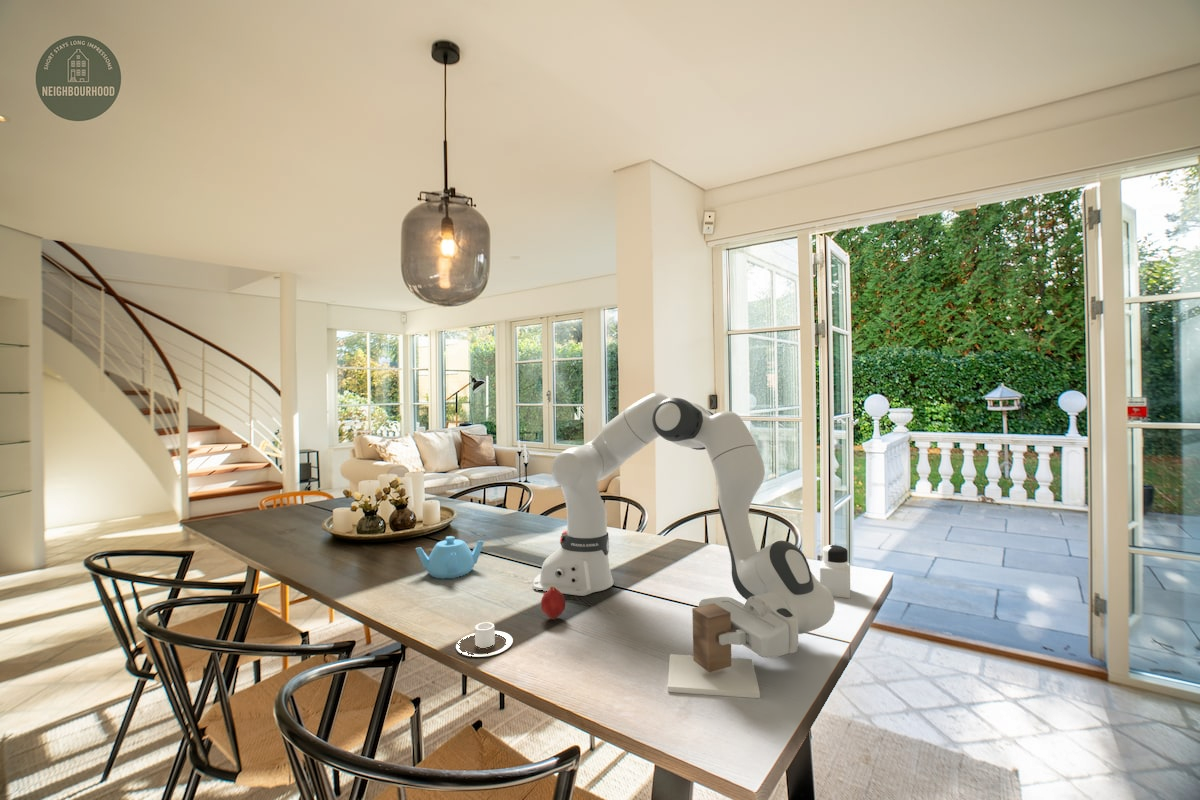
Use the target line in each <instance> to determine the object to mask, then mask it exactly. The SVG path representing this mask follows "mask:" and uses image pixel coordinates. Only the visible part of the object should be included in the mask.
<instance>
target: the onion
mask: <svg viewBox="0 0 1200 800" xmlns="http://www.w3.org/2000/svg"><path fill="white" fill-rule="evenodd" d="M540 607H541V610H542V612H543V614H545V615H546V616H548V617H549V618H550V619H551V620H556V619H557V618H559V616H561V615H562V614H563V612H564V611H565V609H566V598H565V595H564V594H563V593H561V592H560V591H559V590H557V589H556V588H555V586H551V588H550V590H548V591H547V592H546V591H545V592H544V594H543V596H542V597H541V601H540Z"/></svg>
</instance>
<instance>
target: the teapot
mask: <svg viewBox="0 0 1200 800" xmlns="http://www.w3.org/2000/svg"><path fill="white" fill-rule="evenodd" d="M455 538H456V537H455V536H453V535H449V536H448V535H447V536H445V539H444V540H441V541H438V542H437V543H436V544H435V545H434V546H433V549H432V550H431V552H430V553H429V555H428V554H427V553H426V552H425V551H424V549H423V548H422V547H421V546H419V547H416V548H415V551H416V554H417V555H418V557H419V559H420V561H421V564H422V565H423V568H424V570H426V571H427V573H428V574H430V575H429V576H431V577H433V578H434V577H436V578H435V579H439V578H451V579H455V578H454V577H458V578H460V577H459V576H461V577H464V576H466V575H465V574H467V575H468V574H470V572H471V571H472V570H473V569H474V567H475V564H477V563H478V560H479V558H480V554H481V551H482V548H483V545H484V543H485V541H484V540H477V543H476V545H475V546H474V548H473V550H472V551H471V549H470V547H469V546H468V544H467V543H466V542H465V541H464V540H462V539H455ZM463 575H464V576H463Z"/></svg>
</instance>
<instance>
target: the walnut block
mask: <svg viewBox="0 0 1200 800" xmlns="http://www.w3.org/2000/svg"><path fill="white" fill-rule="evenodd" d="M691 613H692V652H693V653H692V654H693V660H694V661H695V662H696V663H697V664H699V665H700V666H701V667H703V668H704V669H705V670H707V671H708V672H713V671H716V670H720V669H723V668H727V667H730V666H731V658H732V644H726V645H721V644H719V643H718V642H716V634H717V633H718V632H722V631H724V632H726V633H728V632H731V613H730V612H728V611H727V610H725V609H723V608H721V607H720V606H718V605H716V604H714V603H713V604H709V605H704V606H700V607H699V606H696V607H693V608H692V611H691Z"/></svg>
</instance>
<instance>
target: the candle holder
mask: <svg viewBox="0 0 1200 800" xmlns="http://www.w3.org/2000/svg"><path fill="white" fill-rule="evenodd" d="M495 634H497V635H500V636H502V637H504V638H505V639H506V642H505V644H506V645H505V644H504V646H503V647H502V648H500V649H497V650H496V651H492V652H489V653H488V654H487V653H473V654H474V655H471V654H469V655H468V653H467V652H468V651H466V652H462V651H461V650H460V649H459V648H460V646H459V645H460V644H459V643H461V642H460V641H461V640H462V639H463V640H464V639H466V638H467V637H468V638H469V637H470V636H474V635H475V638H474V645H476V646H478V647H480V648H486V647H490V646H492V645H493V646H495V643H496V636H495ZM460 639H461V640H460ZM460 639H459V640H458V642H457V643H458V644H459V645H458V644H457V643H456V645H455V649H456V651H457V652H458V653H459V654H461V653H462V654H461V655H463V656H467V657H471V656H472V658H473V657H477V658H480V657H481V658H482V657H484V658H485V657H490V656H494V655H498V654H500V653H502V652H505V651H506V650H508V649H509V648H510V647H511V646H512V645H513V642H514V638H513V637H512V636H511V635H510V634H509V633H508V632H505V631H500V630H495V624H494V623H493V622H489V621H488V622H480V623H477V624H476V625H474V632H473V633H470V634H467V635H466V636H463V637H461V638H460ZM476 646H475V647H476ZM493 646H492V647H493ZM480 648H479V649H480ZM490 648H491V647H490ZM486 649H487V648H486Z"/></svg>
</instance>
